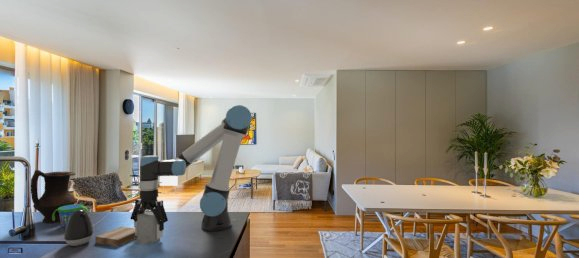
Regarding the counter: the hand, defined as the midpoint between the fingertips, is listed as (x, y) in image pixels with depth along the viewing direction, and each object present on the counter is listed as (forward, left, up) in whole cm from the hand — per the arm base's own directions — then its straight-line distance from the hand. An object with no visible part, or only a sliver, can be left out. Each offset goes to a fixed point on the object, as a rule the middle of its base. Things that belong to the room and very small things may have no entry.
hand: (148, 236), depth 122 cm
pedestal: (+14, +3, -2) cm, 14 cm away
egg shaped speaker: (+27, +12, -2) cm, 30 cm away
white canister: (0, 0, -2) cm, 2 cm away
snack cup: (+56, -4, -2) cm, 56 cm away
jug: (+74, -7, -2) cm, 74 cm away
